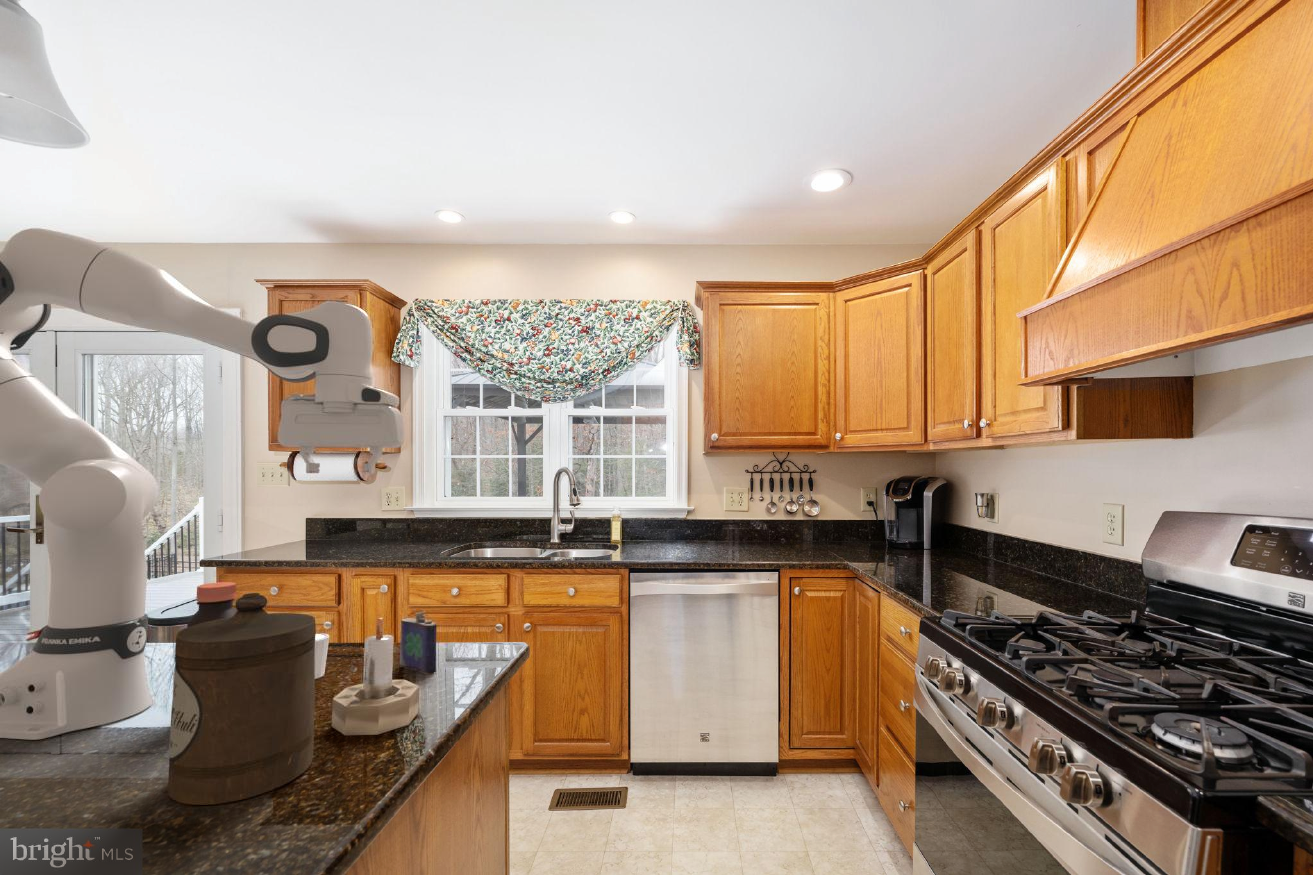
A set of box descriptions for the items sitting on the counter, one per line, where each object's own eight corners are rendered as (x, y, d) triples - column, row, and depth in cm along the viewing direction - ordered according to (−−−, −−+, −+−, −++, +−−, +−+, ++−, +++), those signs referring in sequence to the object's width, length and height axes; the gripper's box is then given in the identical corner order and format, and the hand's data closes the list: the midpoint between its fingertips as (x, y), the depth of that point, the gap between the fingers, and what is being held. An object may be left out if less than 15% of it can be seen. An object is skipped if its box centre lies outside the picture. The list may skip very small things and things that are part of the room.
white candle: (357, 724, 89) (361, 621, 90) (367, 714, 93) (371, 615, 94) (385, 723, 90) (389, 621, 91) (394, 713, 94) (397, 615, 95)
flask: (396, 666, 116) (398, 610, 117) (410, 662, 119) (411, 607, 120) (427, 675, 112) (429, 616, 112) (441, 671, 114) (442, 613, 115)
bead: (321, 736, 86) (322, 707, 86) (353, 706, 96) (354, 680, 97) (401, 733, 86) (402, 705, 87) (424, 704, 97) (425, 679, 98)
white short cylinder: (308, 683, 107) (310, 643, 107) (275, 680, 108) (277, 641, 108) (336, 671, 113) (338, 633, 114) (305, 668, 115) (306, 631, 115)
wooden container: (188, 759, 78) (197, 588, 80) (318, 739, 84) (324, 580, 86) (146, 819, 65) (158, 611, 66) (305, 790, 71) (312, 600, 72)
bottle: (219, 727, 88) (226, 588, 89) (170, 728, 88) (177, 589, 89) (247, 709, 95) (253, 580, 96) (202, 710, 95) (208, 581, 96)
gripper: (272, 391, 102) (268, 473, 102) (396, 393, 104) (393, 473, 103) (291, 396, 109) (288, 473, 108) (408, 398, 110) (406, 473, 110)
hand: (340, 473), depth 106 cm, fingers open, 8 cm apart
